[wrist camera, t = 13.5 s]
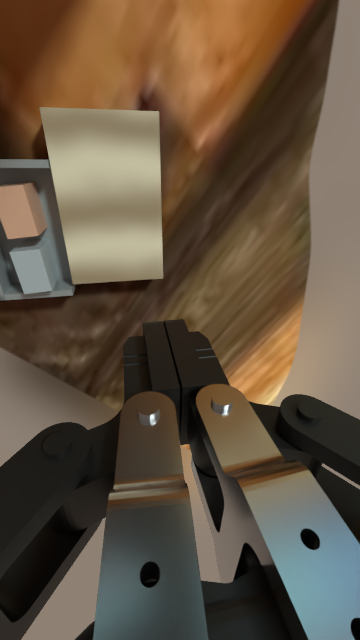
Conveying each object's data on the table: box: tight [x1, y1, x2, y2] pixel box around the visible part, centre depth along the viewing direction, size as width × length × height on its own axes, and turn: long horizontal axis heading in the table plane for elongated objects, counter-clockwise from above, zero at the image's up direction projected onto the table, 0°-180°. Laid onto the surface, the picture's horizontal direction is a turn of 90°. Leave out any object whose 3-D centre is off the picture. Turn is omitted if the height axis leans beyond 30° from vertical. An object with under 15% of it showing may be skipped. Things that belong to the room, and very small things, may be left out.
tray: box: [0, 159, 76, 301], centre depth 27 cm, size 12×7×4 cm, turn 0°
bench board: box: [39, 107, 163, 284], centre depth 27 cm, size 14×9×3 cm, turn 0°
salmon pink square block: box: [0, 182, 48, 239], centre depth 25 cm, size 4×4×2 cm
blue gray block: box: [9, 239, 59, 294], centre depth 28 cm, size 4×4×2 cm
